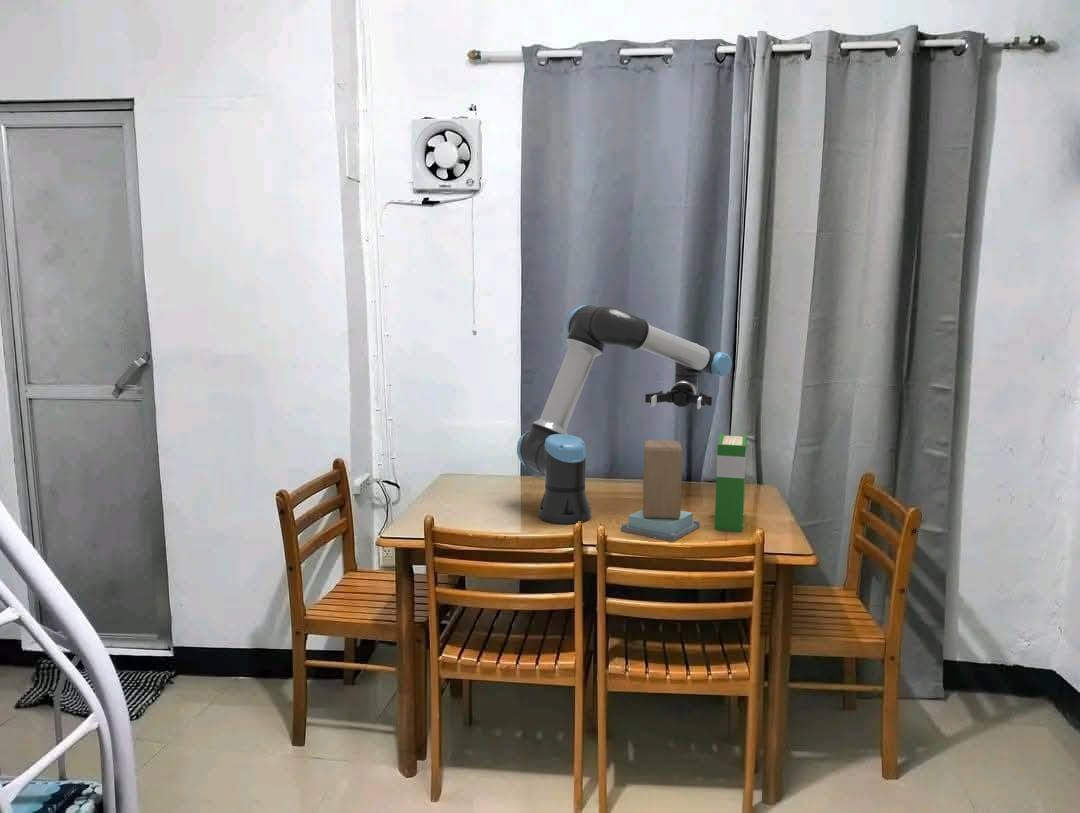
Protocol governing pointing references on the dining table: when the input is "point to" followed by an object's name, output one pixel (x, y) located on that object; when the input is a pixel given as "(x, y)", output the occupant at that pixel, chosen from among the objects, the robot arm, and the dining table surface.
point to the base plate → (659, 535)
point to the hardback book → (730, 482)
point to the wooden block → (662, 479)
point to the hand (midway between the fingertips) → (675, 403)
